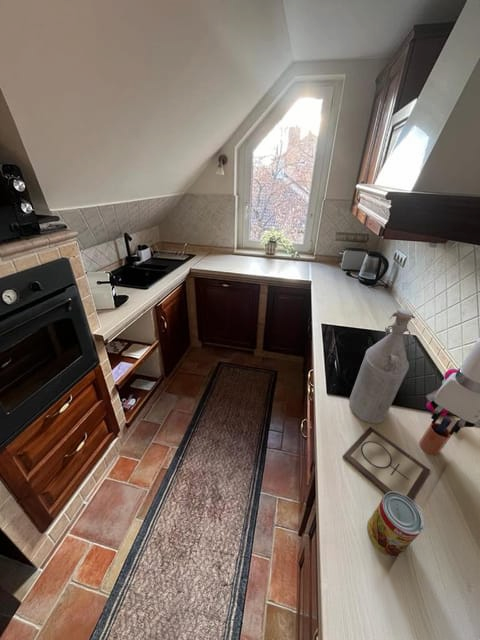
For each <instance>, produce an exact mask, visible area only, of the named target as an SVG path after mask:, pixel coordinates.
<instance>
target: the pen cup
mask: <svg viewBox="0 0 480 640" xmlns="http://www.w3.org/2000/svg"><path fill="white" fill-rule="evenodd" d="M440 423H441V422H435V424H432V422H431V423H430V424H429V426H428V427H427V429H426V431H425V432H424V434H423V435H422V437H421V438H420V440H419V441H418V444H419V446H420V448H421V450H422V451H424V452H425V453H426V454H428V455H431V456H437V455H439V454H440V453H441V451H443V449H444V447H445V446H446V444H447V443H448V441H449V440H450V439H451V437H452V436H453V434H452V435H450V434H449V432H450V429H449V427H448V428H447V429H446V430H445V432H444V433H443V435H442V436H440V435H438V434H437V433H435V431H436V429H437V428H438V426H439V425H440Z"/></svg>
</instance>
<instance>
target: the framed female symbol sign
mask: <svg viewBox="0 0 480 640" xmlns="http://www.w3.org/2000/svg"><path fill="white" fill-rule="evenodd" d="M342 458H343V459H344V460H345V461H346V462H348V463H349V464H350V465H351V466H353V468H354V469H356V470H357V471H358V472H359V473H360V474H362V475H363V476H364V477H365V478H366V479H368V481H370V482H371V483H372V484H373V485H374V486H376V488H378V489H379V490H380V491H381V492H383V494H384V495H385V494H386V493H388V492H391V491H395V492H399V493H402V494H404V495H406V496H407V497H409V498H410V499H411V500H412V501H413V502H414V499H415V498H416V496H417V494H418V492H419V491H420V489H421V487H422V486H423V485H424V483H425V481H426V479H427V478H428V475H429V474H430V472H431V469H430V468H429V467H427V466H425V465H424V464H423V463H422V462H420V461H418V460H417V459H416V458H414V457H413V456H411V455H410V454H409V453H407V452H406V451H405V450H403V449H402V448H401V447H399V446H398V445H397V444H395V442H394V443H393V442H392V441H391V440H389V439H388V438H386V437H385V436H384V435H382V434H381V433H380V432H379V431H377V430H375V429H374V428H373V427H371V426H369V427H368V428H367V429H366V430H365V431H364V433H362V435H361V436H360V437H359V438H358V439H357V440H356V441H355V442H354V443H353V444H352V445H351V446H350V447H349V448H348V450H346V451H345V452H344V453H343V454H342Z"/></svg>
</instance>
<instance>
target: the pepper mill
mask: <svg viewBox="0 0 480 640" xmlns="http://www.w3.org/2000/svg"><path fill="white" fill-rule="evenodd" d="M459 368H460V367H458V368H451V369H447V371H445V372H444V378H443V380H442V381H441V383H442V385H443V383H444V382H445V381H446V379H447V378H448V377H449V376H450V375H451V374H452V373H457V371H458V370H459ZM439 389H440V388H438V389H436V390H433V392H435V391H438V390H439ZM425 407H426V408H427V410H428V411H429V412H430V413H432V414H434V408H433V406H432V405H431V402H430V401H429V400H428V401H427V403H426V405H425ZM442 411H443V412H442V413H441V415H440V416H439V417H446V416H447V414H448V413H449V411H448V410H446V409H443V410H442Z"/></svg>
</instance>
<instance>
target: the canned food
mask: <svg viewBox="0 0 480 640" xmlns="http://www.w3.org/2000/svg"><path fill="white" fill-rule="evenodd" d="M424 528H425V519H424V514H423V513H422V511H421V508H420V507H419V506H418V505H417V504H416V502H415V501H414V500H413V501H412V500H411V499H410V498H409V497H407V496H406V495H404V494H402V493H399V492H395V491H391V492H388V493H386V494H385V493H384V496H383V497H382V498H381V500H380V502H379V503H378V504H377V506H376V508H375V509H374V511H373V512H372V514H371V516H370V517H369V519H368V521H367V525H366V529H367V530H366V531H367V534H368V537H369V539H370V541H371V540H372V541H371V543H372V544H373V545H374V547H375V548H376V547H377V548H376V549H377V550H378V551H379V552H381V553H382V552H383V553H382V554H384V553H385V554H384V555H386V556H388V555H389V557H393V556H396V557H398V556H399V555H400V554H402V553H403V552H404V551H405V550H406V549H407V548H409V546H410V545H411V544H412V542H414V540H415V539H416V538H417V537H419V535H420V534H421V533H422V532H423V530H424Z"/></svg>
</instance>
